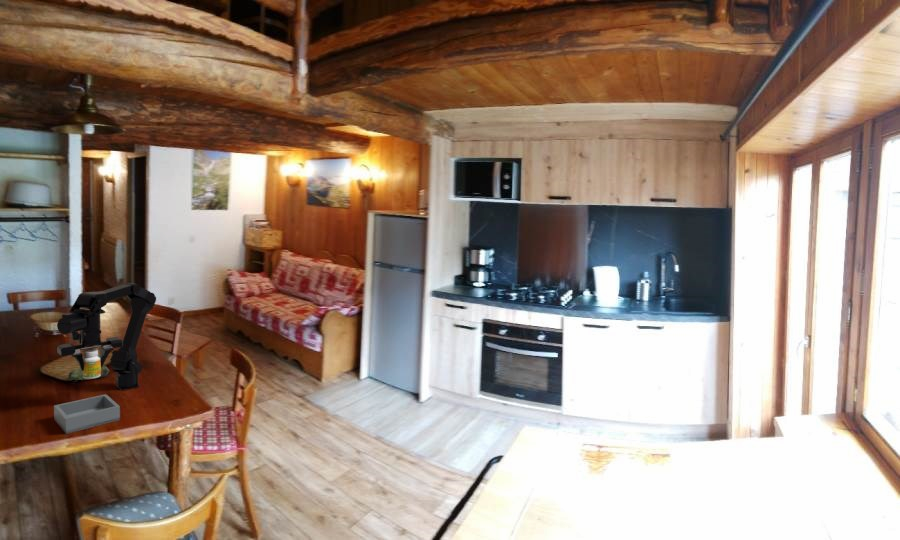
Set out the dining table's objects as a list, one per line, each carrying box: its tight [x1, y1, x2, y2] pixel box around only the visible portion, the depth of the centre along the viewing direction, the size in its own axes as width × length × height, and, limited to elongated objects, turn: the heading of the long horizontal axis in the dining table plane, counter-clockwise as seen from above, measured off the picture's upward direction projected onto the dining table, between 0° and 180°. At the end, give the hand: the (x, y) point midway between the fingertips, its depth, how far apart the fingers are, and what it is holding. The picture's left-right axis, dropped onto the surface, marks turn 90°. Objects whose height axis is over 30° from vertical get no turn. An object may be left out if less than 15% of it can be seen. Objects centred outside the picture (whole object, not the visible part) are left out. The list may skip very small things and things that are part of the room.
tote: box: [53, 394, 121, 435], centre depth 166 cm, size 15×14×5 cm
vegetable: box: [68, 365, 111, 381], centre depth 200 cm, size 14×5×5 cm, turn 132°
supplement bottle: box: [83, 349, 101, 380], centre depth 178 cm, size 5×5×10 cm
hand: (91, 368), depth 178 cm, fingers closed on supplement bottle, 5 cm apart
